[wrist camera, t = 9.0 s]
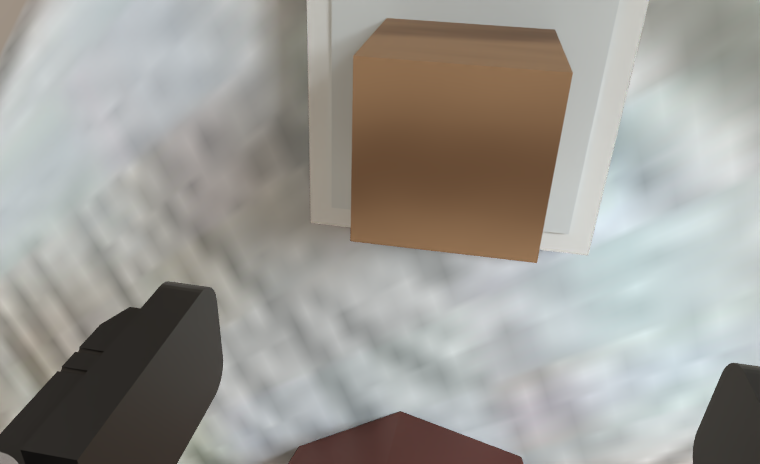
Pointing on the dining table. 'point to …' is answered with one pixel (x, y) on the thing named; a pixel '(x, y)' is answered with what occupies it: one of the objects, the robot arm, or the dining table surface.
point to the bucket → (400, 445)
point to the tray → (486, 7)
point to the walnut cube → (456, 136)
